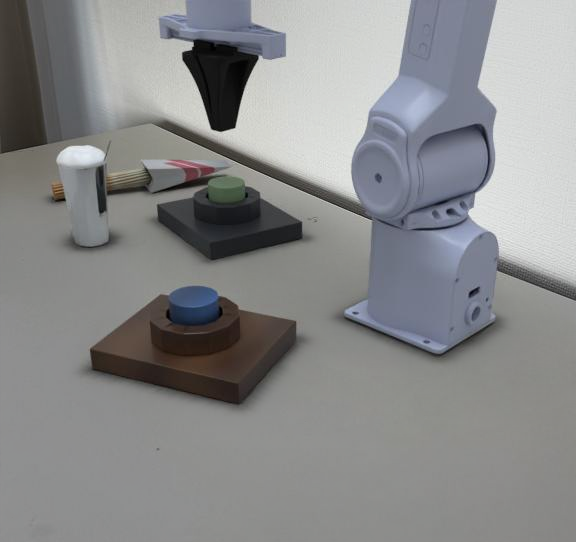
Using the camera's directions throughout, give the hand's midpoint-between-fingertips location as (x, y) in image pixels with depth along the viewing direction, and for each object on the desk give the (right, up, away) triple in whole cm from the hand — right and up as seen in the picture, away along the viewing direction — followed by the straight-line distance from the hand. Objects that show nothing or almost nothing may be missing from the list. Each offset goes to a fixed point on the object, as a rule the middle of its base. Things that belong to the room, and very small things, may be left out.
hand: (223, 128), depth 82 cm
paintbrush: (-10, -2, +16) cm, 19 cm away
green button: (0, -6, +4) cm, 7 cm away
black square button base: (0, -8, +5) cm, 10 cm away
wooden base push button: (-1, -22, -16) cm, 27 cm away
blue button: (-1, -19, -18) cm, 26 cm away
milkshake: (-13, -10, +3) cm, 16 cm away
